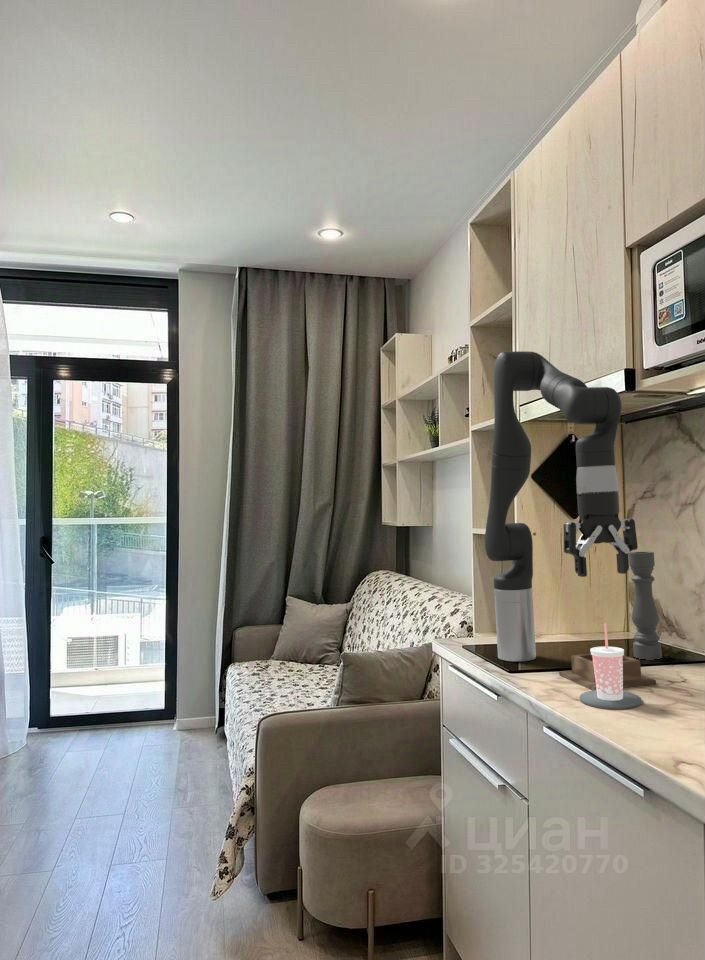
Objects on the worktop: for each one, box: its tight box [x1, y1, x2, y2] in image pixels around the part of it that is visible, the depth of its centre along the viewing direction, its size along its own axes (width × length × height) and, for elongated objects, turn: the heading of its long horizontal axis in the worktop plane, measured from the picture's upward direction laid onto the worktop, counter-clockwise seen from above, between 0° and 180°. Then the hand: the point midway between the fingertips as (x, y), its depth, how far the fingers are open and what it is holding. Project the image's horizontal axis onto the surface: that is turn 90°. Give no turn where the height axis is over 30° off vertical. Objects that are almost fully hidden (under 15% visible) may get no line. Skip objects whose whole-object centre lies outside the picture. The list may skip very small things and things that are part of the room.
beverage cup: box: [589, 622, 625, 701], centre depth 130 cm, size 6×6×14 cm
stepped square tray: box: [558, 653, 657, 691], centre depth 145 cm, size 14×14×4 cm
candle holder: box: [628, 551, 663, 661], centre depth 163 cm, size 6×6×25 cm
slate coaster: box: [579, 690, 643, 710], centre depth 130 cm, size 11×11×1 cm
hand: (602, 574), depth 131 cm, fingers open, 8 cm apart
